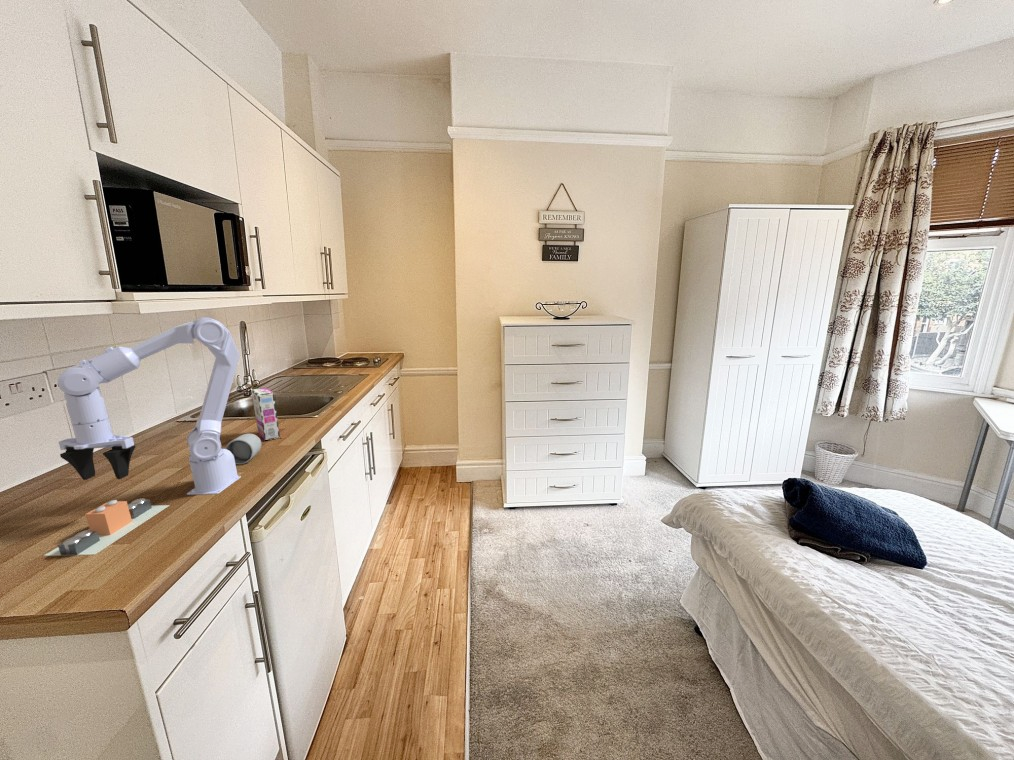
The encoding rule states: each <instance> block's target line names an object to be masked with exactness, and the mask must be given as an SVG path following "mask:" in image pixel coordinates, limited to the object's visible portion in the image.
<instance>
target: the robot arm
mask: <svg viewBox="0 0 1014 760" xmlns="http://www.w3.org/2000/svg"><path fill="white" fill-rule="evenodd" d="M195 339H196V340H197V341H198V342H199V343H201V344H202V345H203V346H205V347H207V349H208V350H209V351H210V352H211V353H212V355H214V357H215V359H214V363H213V367H212V370H211V374H210V377H209V378H210V379H209V381H208V385H207V389H206V391H205V395H204V398H203V403H202V405H201V410H200V413H199V416H198V419H196V420H197V421H196V423H195V426H194V428H193V429H192V430H191V431H190V432H189V433H188V435H187V438H186V443H187V444H188V447H189V454H190V455H189V457H188V462H189V466H190V472H191V475H192V479H193V483H194V488H192V489H191V490H190V491H188V492H187V493H186V496H189V495H190V496H191V495H199V496H200V495H218V494H220V493H221V492H223V491H224V490H225V489H227V488H228V487H229V486H231V485H233V483H235V482H236V481H238V480H239V479H240V478H241V477H242V476H241V475H238V469H237V464H235V459H234V456H233V454H232V453H231V452H230V451H229V450H227V449H225V448H222V443H221V440H220V439H221V438H220V437H221V432H222V421H223V418H224V413H225V411H226V407H227V403H228V400H229V395H230V392H231V390H232V389H231V388H232V387H233V382H234V378H235V374H236V371H237V368H238V364H239V360H240V352H239V350H238V347H237V346H236V343H235V341H234V339H233V337H232V334H231V331H230V330H229V329H228V328H227V327H226V326H225V325H224V324H223V323H222V322H220V321H219V320H216V319H214V318H211V317H209V316H208V317H207V316H202V317H200V318H196V319H195V320H194V321H188V322H185V323H182V324H179V325H175V326H173V327H171V328H169V329H167V330H165V331H163V332H161V333H158V334H157V335H155V336H152V337H150V338H148V339H146V340H144V341H143V342H140V343H138V344H137V345H134V346H132V347H126V346H115V347H112V346H108V348H105V349H104V353H103V352H102V353H101V354H98V355H97V356H95V357H92V358H90V359H87V360H86V359H81V360H79V361H78V364H79V365H75V366H74V365H73V366H70V367H69V368H67V369H65V370H64V371H63V372H62V373H60V375H59V376H58V378H57V385H58V388H59V389H60V390H61V392H64V393H63V395H64V396H63V397H64V399H65V401H66V403H65V405H66V409H67V412H68V416H69V420H70V423H71V426H72V431H73V434H74V436H75V437H72V438H71V437H70V438H65V439H62V440H60V441H58V445H59V448H60V451H65V452H62V453H60V454H59V456H60V458H61V459H63V460H64V461H65V462H67V463H69V465H71V466H72V468H74V470H75V471H76V473H77V474H78V475H79V476H80V478H81V479H82V480H83V481H87V480H89V479H91V478H93V477H95V476H96V469H95V464H94V449H106V448H109V450H106V451H104V452H102V456H103V457H105V458H106V459H107V461H108V463H109V464H110V465H111V467H112V471H113V473H114V476H115V478H116V479H117V480H122V479H124V478H125V477H128V476H129V471H130V463H131V459H132V455H133V454H134V451H135V449H136V444H135V442H134V438H133V437H132V436H122V435H115V434H114V432H113V428H112V426H111V421H110V418H109V413H108V410H107V406H106V402H105V398H104V397H103V396H102V393H101V392H102V391H101V389H100V386H99V384H108V383H110V382H112V381H114V380H116V379H118V378H121V377H123V376H125V375H126V374H129V373H130V372H131V373H132V371H135V370H137V369H138V368H139V367H140V364H141V360H144V359H146V358H148V357H151V356H153V355H155V354H157V353H159V352H161V351H164V350H166V349H169V348H171V347H173V346H176V345H177V344H195Z"/></svg>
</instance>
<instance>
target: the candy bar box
mask: <svg viewBox="0 0 1014 760" xmlns="http://www.w3.org/2000/svg"><path fill="white" fill-rule="evenodd" d="M251 395H252V401H253V408H254V409H253V410H254V414H255V421H256V426H257V433H258V434H260V435H261V436H262V437H261V436H260V435H259V436H260V437H261V438H262V439H263V440H264V441H265V440H268V441H271V440H270V439H273V440H275V439H274V438H277V439H279V438H278V437H280V438H281V435H280V434H281V433H280V429H279V428H280V427H279V422H278V414H277V407H276V406H277V405H276V400H275V399H276V398H275V392H273V391H271V390H270V389H269V388H268V387H262V388H261V387H260V388H253V389H251Z"/></svg>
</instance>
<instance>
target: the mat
mask: <svg viewBox="0 0 1014 760" xmlns="http://www.w3.org/2000/svg"><path fill="white" fill-rule="evenodd" d="M151 506H152V508H151V509H149V510H148V511H146V512H144V513H143V514H141V515H140V516H138V517H137V518H135V519H132V522H130V523H129V524H127V525H126V526H124V527H122V528H121V529H119V530H118V531H116V532H115V533H113V534H111V535H99V539H100V541H98V542H97V543H95V544H94V545H92V546H91V547H89V548H87V549H86V550H84V551H83V552H81V553H79V554H78V555H77V556H91V555H93V556H94V555H97V554H98V553H99V552H101V551H102V550H104V549H105V548H107V547H108V546H110V545H112V544H113V543H115V542H116V541H118V540H120V539H121V538H122V537H124V536H126V535H127V534H128V533H130V532H131V531H133V530H135V529H136V528H137V527H139V526H141V525H143V524H144V523H146V522H147V521H148V520H150V519H151V518H153V517H155V516H156V515H158V514H159V513H161V512H162V511H163V510H165V509H167V508H168V507H170V505H167V504H165V505H161V504H160V505H151ZM87 530H90V528H88V529H87ZM43 556H44V557H46V556H47V557H48V556H49V557H51V556H52V557H53V556H55V557H56V556H58V557H59V556H62V555H61V554H60V551H59V548H58V546H57V547H56V548H54V549H52V550H50V551H49V552H47V553H45V554H44V555H43Z"/></svg>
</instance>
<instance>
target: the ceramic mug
mask: <svg viewBox="0 0 1014 760" xmlns="http://www.w3.org/2000/svg"><path fill="white" fill-rule="evenodd" d="M224 449H227V450H229V451H230V452H231V453H232V454H233V456H234V459H235V465H245V464H248V463H249V462H250V461H251V460H252V459H253V458H254V457H255V456H256V455H257V454H258V453H259V452H260V450H261V449H262V440H261V438H260V437H258V435H256V434H254V433H244V434H241V435H239V436H237V437H236V438H234V439H232V440H231V441H229V442H228V443H227V444H226V446H225V448H224Z"/></svg>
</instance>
